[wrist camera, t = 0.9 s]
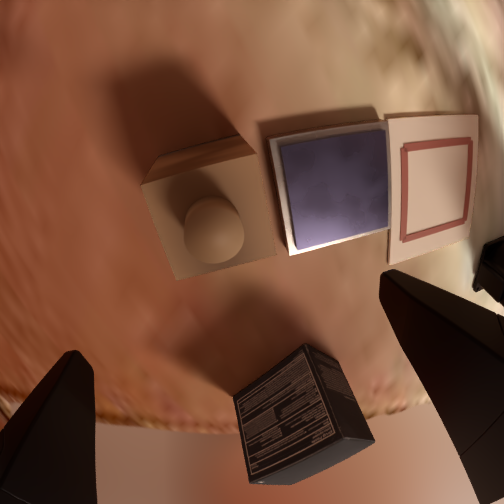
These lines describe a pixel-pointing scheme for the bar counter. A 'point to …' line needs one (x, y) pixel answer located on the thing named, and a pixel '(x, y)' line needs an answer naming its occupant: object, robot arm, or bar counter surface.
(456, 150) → the print sheet
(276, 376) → the small box
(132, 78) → the bar counter surface
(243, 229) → the stamp
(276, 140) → the ink pad
